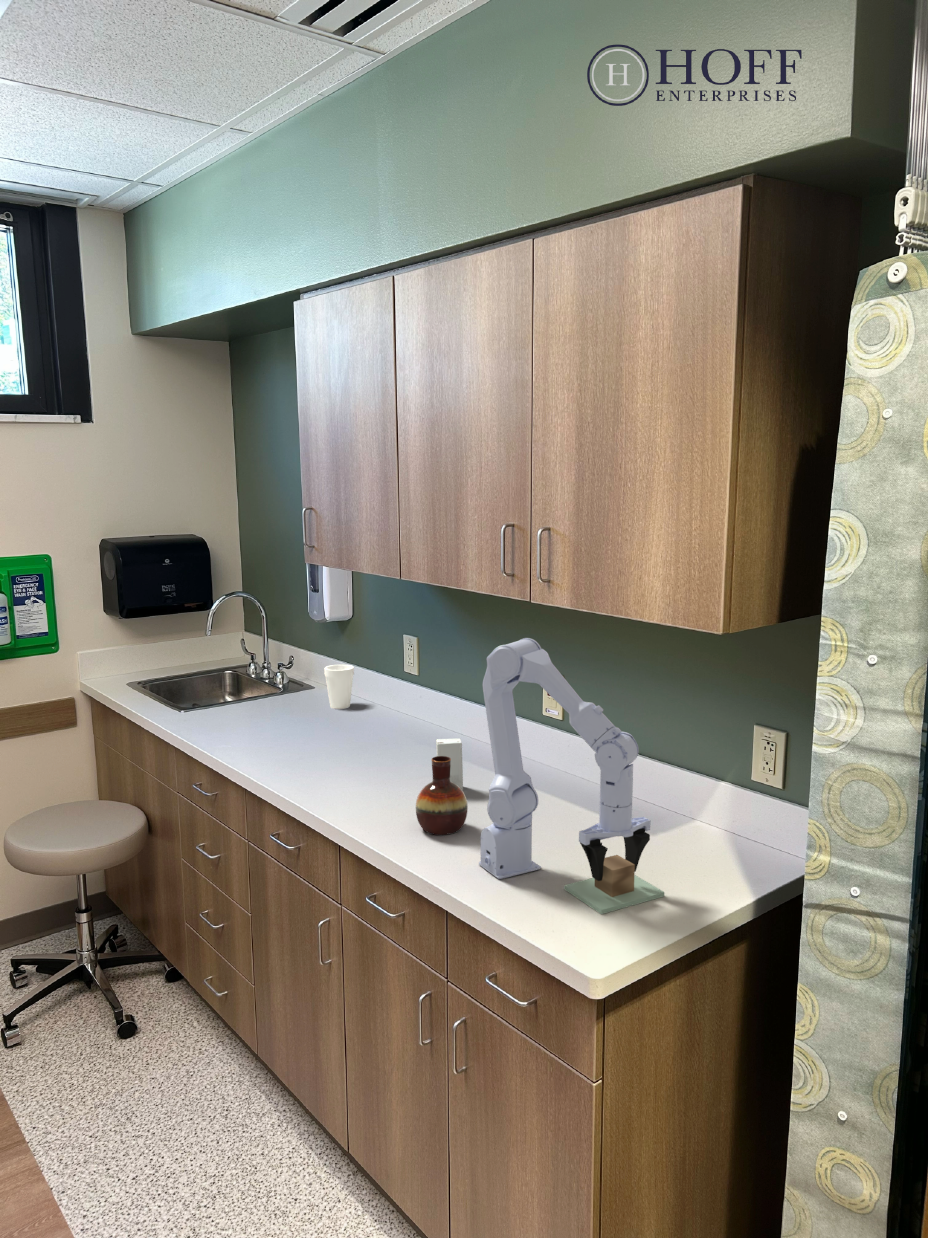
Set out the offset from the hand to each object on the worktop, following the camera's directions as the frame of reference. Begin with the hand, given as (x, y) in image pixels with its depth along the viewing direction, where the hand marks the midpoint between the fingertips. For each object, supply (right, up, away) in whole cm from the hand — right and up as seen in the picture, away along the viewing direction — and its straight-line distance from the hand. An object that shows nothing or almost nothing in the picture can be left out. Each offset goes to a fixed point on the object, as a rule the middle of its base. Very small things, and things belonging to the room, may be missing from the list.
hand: (614, 874), depth 166 cm
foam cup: (-67, +17, +135) cm, 152 cm away
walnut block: (0, -3, 0) cm, 3 cm away
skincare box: (-30, +5, +56) cm, 64 cm away
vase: (-32, +1, +31) cm, 45 cm away
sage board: (0, -4, +1) cm, 3 cm away
